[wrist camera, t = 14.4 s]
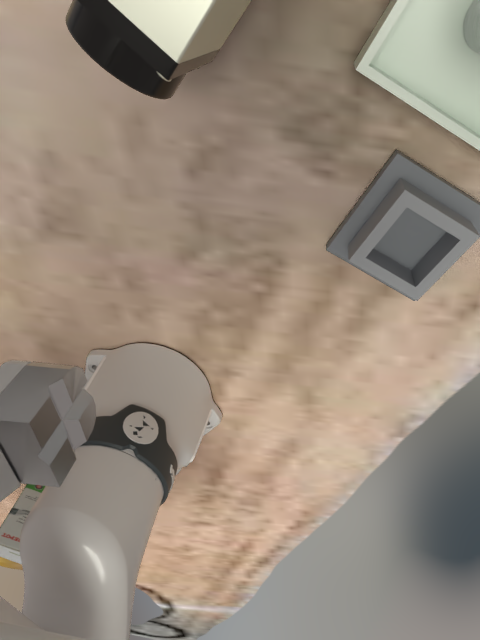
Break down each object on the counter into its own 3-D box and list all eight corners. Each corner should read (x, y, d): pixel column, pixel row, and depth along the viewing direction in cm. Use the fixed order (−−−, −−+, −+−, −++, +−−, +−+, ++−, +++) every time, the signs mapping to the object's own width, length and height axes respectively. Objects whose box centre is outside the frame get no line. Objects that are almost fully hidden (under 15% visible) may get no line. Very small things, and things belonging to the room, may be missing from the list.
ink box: (30, 487, 78) (-13, 554, 68) (33, 472, 75) (-12, 540, 65) (77, 505, 78) (41, 574, 69) (81, 491, 76) (44, 561, 66)
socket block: (412, 294, 43) (419, 319, 40) (326, 244, 42) (325, 265, 39) (493, 211, 38) (508, 231, 34) (396, 149, 36) (402, 164, 33)
